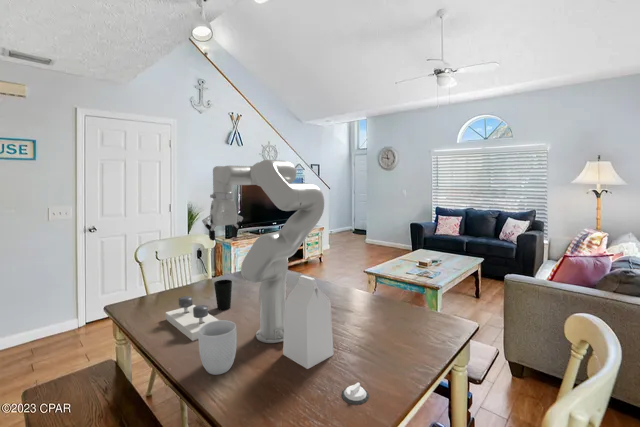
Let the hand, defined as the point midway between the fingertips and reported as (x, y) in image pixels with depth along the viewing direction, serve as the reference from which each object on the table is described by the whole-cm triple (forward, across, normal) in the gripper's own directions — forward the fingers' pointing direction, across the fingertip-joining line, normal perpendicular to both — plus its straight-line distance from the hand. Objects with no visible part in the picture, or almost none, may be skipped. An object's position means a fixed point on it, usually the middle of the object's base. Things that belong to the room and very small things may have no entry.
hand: (223, 238), depth 135 cm
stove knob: (+32, +1, -72) cm, 78 cm away
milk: (+32, +5, -48) cm, 58 cm away
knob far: (+31, -13, +8) cm, 34 cm away
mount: (+33, -13, +1) cm, 36 cm away
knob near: (+30, -13, -6) cm, 33 cm away
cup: (+34, +4, +8) cm, 35 cm away
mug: (+33, -19, -34) cm, 51 cm away
